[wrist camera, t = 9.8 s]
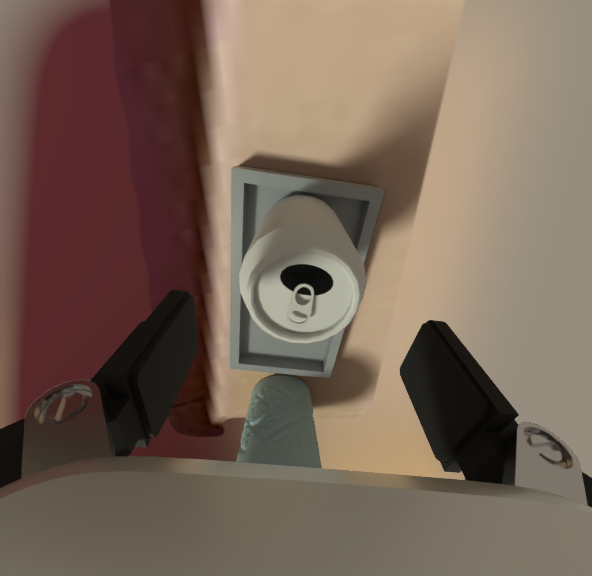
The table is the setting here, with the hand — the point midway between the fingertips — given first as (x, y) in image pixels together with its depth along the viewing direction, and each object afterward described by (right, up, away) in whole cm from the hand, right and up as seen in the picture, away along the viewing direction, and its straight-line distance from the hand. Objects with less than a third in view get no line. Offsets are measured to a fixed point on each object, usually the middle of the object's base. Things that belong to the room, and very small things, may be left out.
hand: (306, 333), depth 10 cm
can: (0, +7, +14) cm, 15 cm away
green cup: (-2, -14, +27) cm, 30 cm away
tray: (-1, +2, +17) cm, 17 cm away
